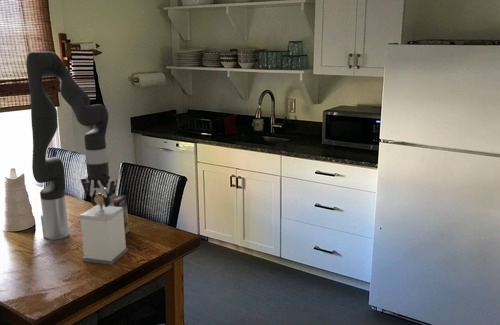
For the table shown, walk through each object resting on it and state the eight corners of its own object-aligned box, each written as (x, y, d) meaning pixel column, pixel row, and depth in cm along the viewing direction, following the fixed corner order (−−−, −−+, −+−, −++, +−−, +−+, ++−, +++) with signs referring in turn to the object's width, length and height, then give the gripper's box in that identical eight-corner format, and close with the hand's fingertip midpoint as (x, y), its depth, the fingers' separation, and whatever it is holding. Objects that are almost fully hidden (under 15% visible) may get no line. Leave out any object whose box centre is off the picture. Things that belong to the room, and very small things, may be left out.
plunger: (96, 245, 175) (91, 194, 170) (102, 241, 179) (98, 190, 174) (106, 247, 174) (102, 195, 169) (113, 242, 178) (108, 191, 173)
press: (82, 261, 173) (77, 215, 169) (104, 244, 187) (100, 201, 183) (111, 264, 170) (107, 218, 166) (131, 247, 184) (128, 204, 180)
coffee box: (119, 239, 192) (116, 202, 188) (105, 238, 193) (101, 201, 189) (129, 231, 200) (126, 195, 196) (115, 230, 202) (112, 194, 198)
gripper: (73, 162, 166) (78, 207, 171) (109, 164, 163) (113, 210, 167) (85, 157, 173) (90, 201, 178) (120, 159, 170) (123, 204, 174)
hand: (101, 205), depth 172 cm, fingers closed on plunger, 4 cm apart
